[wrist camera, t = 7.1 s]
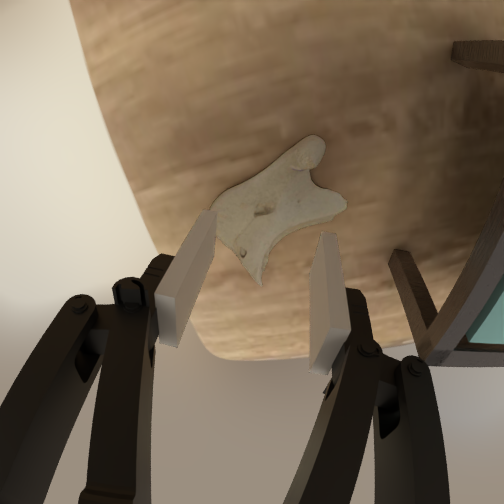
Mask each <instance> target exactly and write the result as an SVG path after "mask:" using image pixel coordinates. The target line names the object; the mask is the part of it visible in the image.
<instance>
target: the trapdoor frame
mask: <svg viewBox="0 0 504 504" xmlns="http://www.w3.org/2000/svg"><path fill="white" fill-rule="evenodd" d="M451 60H452V61H454V62H457V63H459V64H461V65H463V66H465V67H467V68H473V69H480V70H487V71H494V72H500V73H504V41H499V40H482V41H455V42H454V44H453V50H452V56H451ZM388 265H389V268H390V271H391V273H392V276H393V279H394V281H395V284H396V287H397V290H398V293H399V295H400V298H401V301H402V304H403V307H404V310H405V313H406V316H407V319H408V322H409V326H410V329H411V332H412V335H413V339H414V342H415V345H416V349H417V352H418V356H419V358H421V359H422V360H424V361H425V362H426V364H427V365H428V366H443V367H445V366H446V367H504V344H490V343H473V342H469V341H468V339H467V336H466V334H465V333H466V332H467V330H468V329H469V328H470V326H471V325H472V323H473V322H474V320H475V319H476V317H477V316H478V314H479V313H480V311H481V310H482V308H483V307H484V305H485V304H486V302H487V301H488V299H489V297H490V296H491V294H492V292H493V291H494V289H495V287H496V286H497V284H498V282H499V281H500V279H501V277H502V275H503V274H504V178H503V181H502V184H501V186H500V189H499V192H498V194H497V197H496V199H495V202H494V204H493V207H492V209H491V212H490V214H489V216H488V219H487V221H486V223H485V226H484V228H483V230H482V232H481V234H480V237H479V239H478V241H477V243H476V245H475V247H474V249H473V251H472V253H471V255H470V257H469V259H468V261H467V263H466V265H465V267H464V269H463V271H462V273H461V275H460V276H459V278H458V280H457V282H456V284H455V285H454V287H453V289H452V291H451V292H450V294H449V296H448V298H447V299H446V301H445V303H444V304H443V306H442V308H441V309H440V311H439V313H438V312H437V310H436V308H435V305H434V303H433V301H432V298H431V296H430V294H429V291H428V289H427V287H426V285H425V283H424V281H423V278H422V276H421V274H420V272H419V270H418V268H417V266H416V264H415V262H414V260H413V258H412V256H411V254H410V252H406V251H401V250H397V249H394V251H393V253H392V256H391V258H390V261H389V263H388Z"/></svg>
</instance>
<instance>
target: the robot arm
mask: <svg viewBox="0 0 504 504" xmlns="http://www.w3.org/2000/svg"><path fill="white" fill-rule="evenodd" d="M217 215H218V212H217V211H212V210H206V209H203V210H202V212H201V214H200V215H199V217H198V219H197V220H196V222H195V224H194V225H193V227H192V229H191V230H190V232H189V234H188V235H187V237H186V239H185V240H184V242H183V244H182V245H181V247H180V249H179V250H178V252H177V254H176V256H171V255H166V254H160V255H158V256H157V257H155V258H154V259H152V261H151V262H150V264H149V265H148V268H146V270H145V272H144V274H143V275H142V276H141V278H135V277H127V278H123V279H120V280H119V281H117V282H116V283H115V284H114V286H113V287H112V291H113V296H114V301H115V304H110V305H96V303H95V300H94V299H93V298H92V297H90V296H89V295H84V294H80V295H75V296H73V297H71V298H70V299H69V300H68V301H66V303H65V304H64V305H63V307H62V308H61V310H60V311H59V312H58V314H57V315H56V317H55V318H54V320H53V321H52V323H51V324H50V326H49V327H48V328H47V330H46V331H45V333H44V334H43V336H42V338H41V339H40V341H39V342H38V344H37V345H36V347H35V348H34V350H33V351H32V353H31V355H30V356H29V358H28V360H27V361H26V363H25V365H24V366H23V368H22V369H21V371H20V373H19V374H18V376H17V378H16V379H15V381H14V383H13V385H12V386H11V388H10V390H9V392H8V393H7V395H6V397H5V399H4V401H3V403H2V404H1V406H0V504H43V502H44V500H45V498H46V495H47V492H48V489H49V486H50V484H51V481H52V478H53V476H54V473H55V470H56V468H57V465H58V463H59V460H60V458H61V455H62V452H63V450H64V448H65V445H66V443H67V440H68V438H69V435H70V433H71V431H72V428H73V426H74V424H75V421H76V419H77V417H78V415H79V412H80V410H81V408H82V406H83V404H84V401H85V399H86V397H87V395H88V392H89V390H90V388H91V386H92V384H93V382H94V380H95V378H96V376H97V373H98V371H99V369H100V367H101V365H102V368H101V373H100V379H99V384H98V390H97V396H96V402H95V409H94V416H93V423H92V431H91V439H90V448H89V458H88V470H87V482H86V487H85V489H84V490H83V491H82V492H81V493H80V496H79V501H78V504H151V416H152V396H153V379H154V364H155V342H156V339H157V337H158V335H159V343H161V344H165V345H169V346H173V347H178V345H179V342H180V340H181V337H182V334H183V332H184V329H185V327H186V324H187V322H188V319H189V317H190V314H191V312H192V309H193V307H194V304H195V302H196V299H197V297H198V294H199V292H200V289H201V287H202V284H203V282H204V279H205V277H206V274H207V272H208V269H209V267H210V264H211V262H212V260H213V257H214V250H215V238H216V226H217ZM309 281H310V364H309V366H310V367H309V373H316V374H324V375H328V373H329V371H330V369H331V368H332V378H331V380H330V382H329V383H328V385H327V387H326V388H325V390H324V392H323V393H324V394H325V396H324V399H323V402H322V405H321V408H320V411H319V414H318V416H317V419H316V422H315V425H314V428H313V430H312V433H311V436H310V439H309V441H308V444H307V447H306V449H305V452H304V455H303V457H302V460H301V462H300V465H299V467H298V470H297V472H296V475H295V477H294V479H293V482H292V484H291V487H290V489H289V491H288V493H287V496H286V498H285V500H284V503H283V504H350V500H351V497H352V494H353V491H354V487H355V484H356V481H357V477H358V474H359V470H360V466H361V463H362V459H363V455H364V451H365V447H366V443H367V438H368V434H369V430H370V425H371V420H372V416H373V426H374V452H375V504H450V495H449V482H448V472H447V463H446V455H445V448H444V440H443V434H442V428H441V422H440V416H439V411H438V406H437V401H436V396H435V391H434V386H433V382H432V377H431V373H430V369H429V367H428V365H427V364H426V362H425V361H424V360H422V359H421V358H419V357H416V356H413V355H412V356H407V357H405V358H403V360H402V361H399V360H396V359H394V358H391V357H389V356H387V355H385V354H383V352H382V349H381V347H380V345H379V344H378V343H377V342H376V341H375V340H373V334H372V328H371V323H370V318H369V315H368V314H369V313H368V308H367V303H366V298H365V297H364V295H363V294H362V292H361V291H360V290H358V289H352V288H346V287H345V283H344V276H343V270H342V264H341V258H340V252H339V247H338V241H337V236H336V234H335V233H330V232H325V231H322V232H321V235H320V239H319V242H318V246H317V249H316V253H315V256H314V260H313V263H312V266H311V270H310V273H309Z"/></svg>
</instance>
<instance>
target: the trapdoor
mask: <svg viewBox="0 0 504 504" xmlns="http://www.w3.org/2000/svg"><path fill="white" fill-rule="evenodd" d="M465 334H466V336H467V339H468V341H469V342H473V343H490V344H504V274H503V275H502V277H501V279H500V281H499V282H498V284H497V286H496V287H495V289H494V291H493V292H492V294H491V296H490V297H489V299H488V301H487V302H486V304H485V305H484V307H483V308H482V310H481V311H480V313H479V314H478V316H477V317H476V319H475V320H474V322H473V323H472V325H471V326H470V328H469V329H468V330H467V332H466V333H465Z"/></svg>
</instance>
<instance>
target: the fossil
mask: <svg viewBox="0 0 504 504" xmlns="http://www.w3.org/2000/svg"><path fill="white" fill-rule="evenodd" d="M325 150H326V144H325V142H324V140H323V139H321V138H320V137H318V136H317V135H310V136H307V137H305V138H304V139H302V140H301V141H300V142H298V143H297V144H296V145H295V146H293V147H292V148H290V149H289V150H288V151H286V152H285V153H284V154H282V155H281V156H280V157H279V158H278V159H277V160H276V161H274V162H273V163H272V164H271V165H270V166H268V167H267V168H266V169H265V170H263V171H262V172H260V173H259V174H257V175H256V176H254V177H253V178H251V179H249V180H247V181H245V182H243V183H241V184H239V185H237V186H234V187H232V188H230V189H228V190H226V191H225V192H223V193H222V194H221V195H220V196H219V197H218V198H217V199H216V200H215V201H214V202H213V204H212V206H211V208H210V210H212V211H217V212H218V215H217V226H216V237H217V238H218V239H219V240H221V241H222V242H223V244H224V245H225V246H227V247H228V248H230V249H231V250H232V251H234V253H235V254H236V256H237V257H238V258H239V260H240V261H241V264H242V265H243V266H244V267H245V269H246V270H247V271H248V272H249V274H250V276H251V277H252V278H253V279H254V281H255V282H256V283H258V284H259V285H260V286H263V285H262V281H261V276H262V272H263V271H265V266H266V264H267V263H268V256H269V253H270V251H271V250H272V248H273V247H274V246H275V245H276V244H277V243H278V242H279V241H280V240H281V239H282V238H283V237H285V236H286V235H288V234H290V233H292V232H294V231H296V230H298V229H301V228H304V227H307V226H312V225H315V224H320V223H324V222H328V221H331V220H333V218H334V216H335V215H337V214H339V213H341V212H342V211H343V210H345V209H346V208H347V205H346V204H347V203H348V201H347V200H344V199H343V197H342V196H341V195H340V194H339V193H337V192H335V191H331V190H330V189H323V188H320V187H318V186H316V185H315V184H314V183H313V182H312V180H311V178H310V177H311V176H310V172H309V169H313V168H316V167H317V166H318V164H319V163H320V161H321V159H322V157H323V156H324V153H325Z"/></svg>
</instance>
